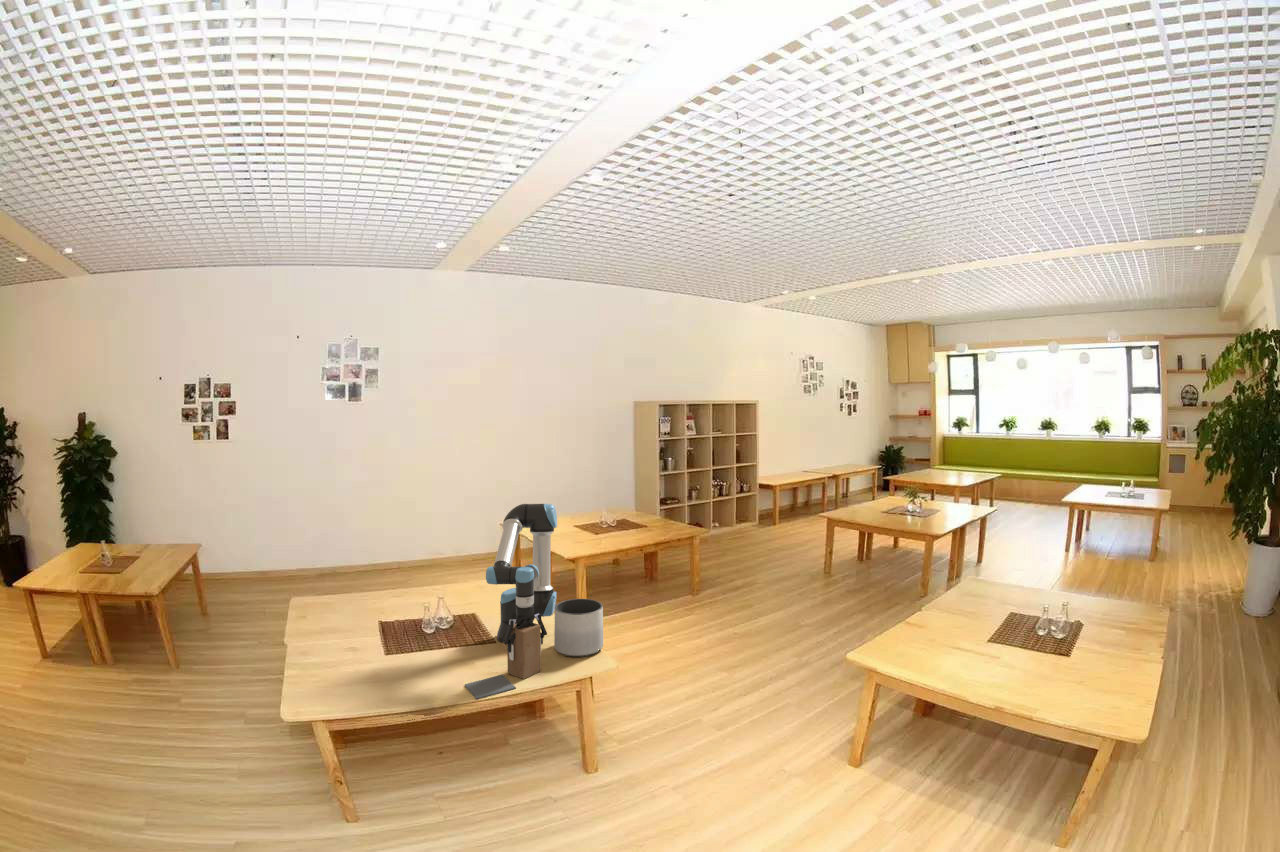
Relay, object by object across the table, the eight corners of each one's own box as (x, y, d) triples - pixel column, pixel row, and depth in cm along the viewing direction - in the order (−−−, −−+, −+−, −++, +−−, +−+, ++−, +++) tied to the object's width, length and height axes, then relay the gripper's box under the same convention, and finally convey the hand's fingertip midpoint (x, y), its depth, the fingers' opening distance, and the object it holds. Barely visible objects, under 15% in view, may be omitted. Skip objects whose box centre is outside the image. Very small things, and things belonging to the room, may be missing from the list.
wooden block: (523, 679, 252) (523, 631, 251) (507, 673, 257) (506, 626, 257) (541, 671, 260) (540, 624, 259) (524, 665, 265) (524, 619, 265)
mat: (464, 685, 246) (464, 684, 246) (502, 675, 255) (502, 674, 255) (476, 699, 235) (476, 698, 235) (515, 688, 244) (515, 687, 244)
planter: (545, 646, 286) (545, 604, 285) (586, 635, 299) (586, 595, 299) (570, 663, 268) (570, 618, 267) (612, 650, 281) (612, 607, 281)
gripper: (501, 613, 247) (501, 665, 248) (554, 602, 260) (555, 652, 261) (494, 607, 253) (494, 659, 254) (547, 597, 267) (547, 646, 268)
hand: (525, 655), depth 258 cm, fingers closed on wooden block, 12 cm apart
